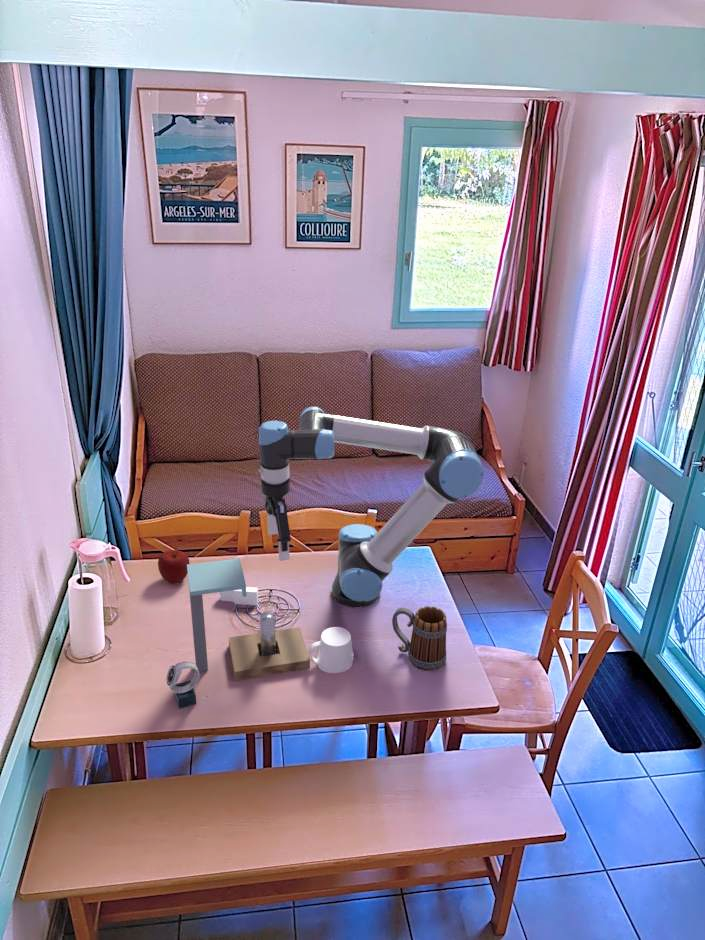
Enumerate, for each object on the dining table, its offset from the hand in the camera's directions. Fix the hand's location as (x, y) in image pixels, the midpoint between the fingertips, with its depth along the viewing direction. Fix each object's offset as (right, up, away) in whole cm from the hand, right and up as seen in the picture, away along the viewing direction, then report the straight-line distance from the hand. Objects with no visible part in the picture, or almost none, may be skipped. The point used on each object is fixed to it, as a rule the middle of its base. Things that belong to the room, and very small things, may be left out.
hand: (278, 546), depth 201 cm
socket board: (-2, -30, -3) cm, 30 cm away
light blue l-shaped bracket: (-15, -31, -6) cm, 35 cm away
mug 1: (+15, -32, -4) cm, 35 cm away
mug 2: (+39, -31, -1) cm, 49 cm away
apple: (-35, -14, +28) cm, 47 cm away
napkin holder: (-14, -19, +20) cm, 31 cm away
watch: (-22, -37, -18) cm, 46 cm away
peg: (-2, -30, -3) cm, 30 cm away
